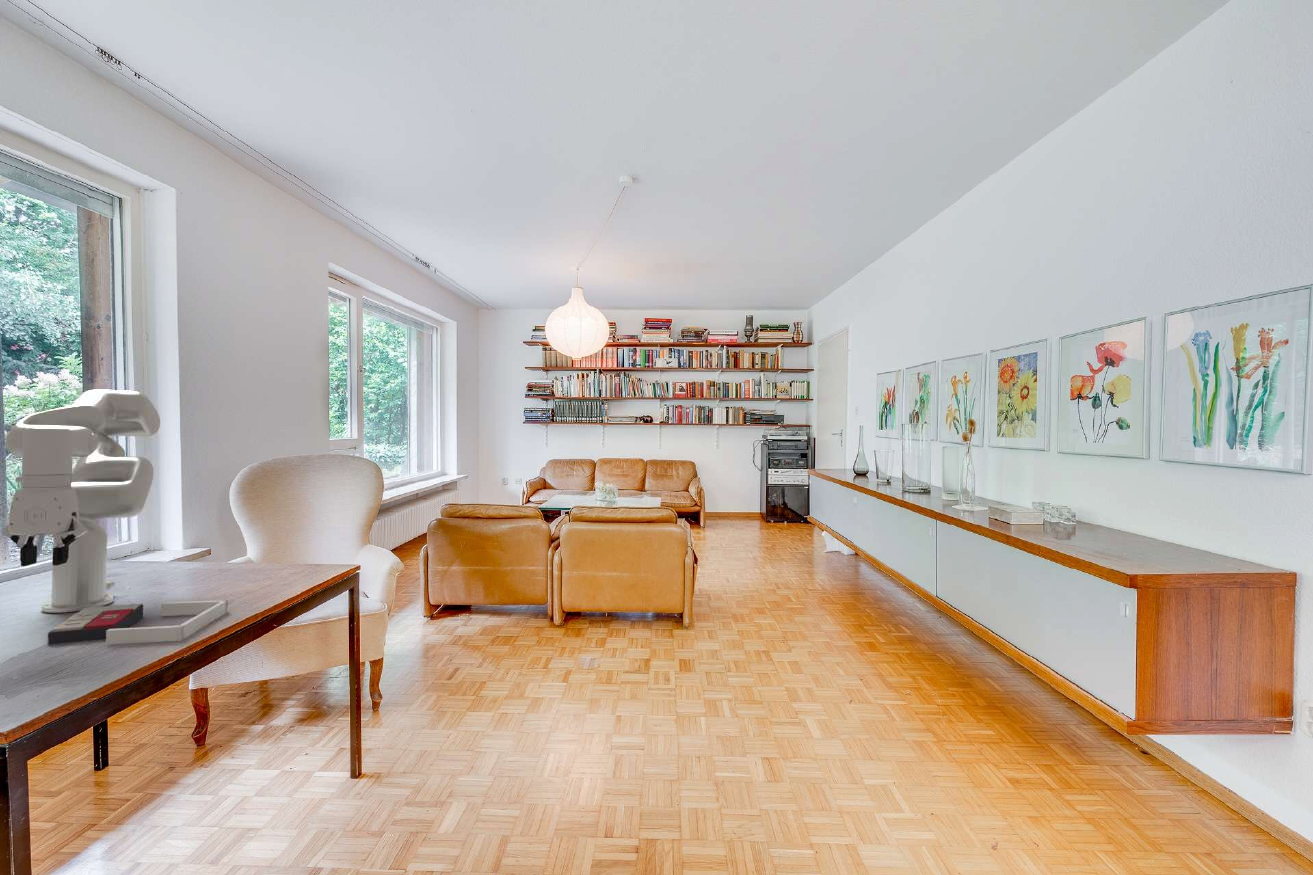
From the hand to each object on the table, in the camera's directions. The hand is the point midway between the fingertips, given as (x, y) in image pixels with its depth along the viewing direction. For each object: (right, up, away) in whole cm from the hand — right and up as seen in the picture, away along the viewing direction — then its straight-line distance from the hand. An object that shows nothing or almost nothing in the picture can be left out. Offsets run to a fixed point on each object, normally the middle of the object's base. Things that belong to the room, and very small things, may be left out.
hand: (44, 563), depth 122 cm
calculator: (+9, -16, +3) cm, 19 cm away
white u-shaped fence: (+22, -16, +6) cm, 28 cm away
